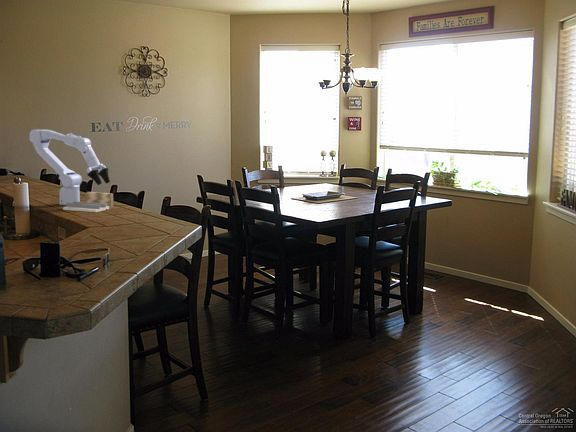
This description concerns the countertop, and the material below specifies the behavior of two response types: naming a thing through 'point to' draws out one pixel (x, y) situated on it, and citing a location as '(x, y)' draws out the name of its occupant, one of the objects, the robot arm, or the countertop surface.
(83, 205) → the track plinth
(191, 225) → the countertop surface
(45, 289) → the countertop surface
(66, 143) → the robot arm
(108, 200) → the door panel
